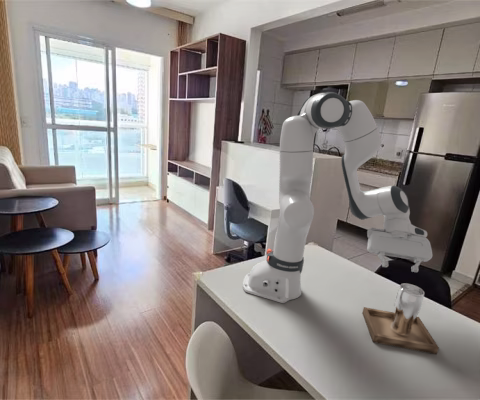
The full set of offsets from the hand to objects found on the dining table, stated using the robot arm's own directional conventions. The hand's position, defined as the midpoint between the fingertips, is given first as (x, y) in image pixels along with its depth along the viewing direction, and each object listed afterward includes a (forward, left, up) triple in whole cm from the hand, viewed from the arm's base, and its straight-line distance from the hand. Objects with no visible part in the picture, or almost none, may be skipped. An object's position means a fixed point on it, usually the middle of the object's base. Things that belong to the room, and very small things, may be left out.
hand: (400, 269), depth 97 cm
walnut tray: (0, -9, -18) cm, 20 cm away
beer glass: (+1, -9, -17) cm, 19 cm away
